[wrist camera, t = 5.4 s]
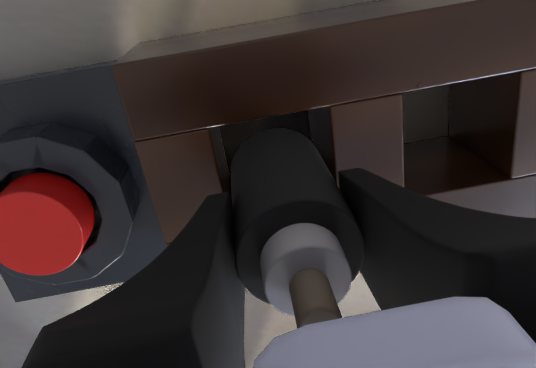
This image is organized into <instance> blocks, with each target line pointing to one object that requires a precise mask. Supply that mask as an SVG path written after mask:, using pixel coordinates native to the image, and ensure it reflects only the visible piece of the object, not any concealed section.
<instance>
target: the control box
mask: <svg viewBox="0 0 536 368" xmlns="http://www.w3.org/2000/svg"><path fill="white" fill-rule="evenodd" d="M116 61H118V60H114V61H109V62H103V63H98V64H92V65H86V66H81V67H75V68H69V69H64V70H58V71H53V72H47V73H41V74H36V75H30V76H25V77H19V78H13V79H8V80H2V81H0V192H1V191H3V190H4V189H5V188H6V187H7V186H8V185H9V184H10V183H11V182H12V181H13V180H15V179H17V178H18V177H20V176H23V175H26V174H30V173H37V172H44V173H52V174H56V175H59V176H62V177H65V178H67V179H69V180H71V181H72V182H74V183H75V184H77V185H78V186H79V187H80V188H81V189H82V190H83V191H84V192H85V193H86V194H87V195H88V197H89V199H90V200H91V202H92V205H93V208H94V211H95V224H94V227H93V230H92V232H91V234H90V236H89V238H88V240H87V242H86V244H85V246H84V248H83V250H82V252H81V254H80V256H79V257H78V259H77V260H76V261H75V262H74V263H73V264H72V265H71V266H69V267H68V268H66V269H64V270H62V271H60V272H57V273H54V274H49V275H29V274H24V273H20V272H17V271H15V270H12V269H10V268H8V267H6V266H4V265H3V264H1V263H0V273H1V275H2V277H3V279H4V281H5V283H6V284H7V286H8V288H9V290H10V292H11V294H12V296H13V298H14V300H15V302H21V301H26V300H31V299H37V298H42V297H47V296H53V295H58V294H63V293H69V292H74V291H79V290H85V289H90V288H95V287H101V286H106V285H111V284H117V283H122V282H126V281H127V280H129V279H130V278H131V277H133V276H134V275H135V274H137V273H138V272H139V271H141V270H142V269H143V268H145V267H146V266H147V265H148V264H149V263H151V262H152V261H153V260H154V259H155V258H156V257H157V256H158V255H160V254H161V253H162V252H163V251H164V250H165V249H166V248H167V247H166V242H165V240H164V237H163V234H162V231H161V228H160V224H159V221H158V218H157V215H156V211H155V208H154V205H153V202H152V199H151V195H150V192H149V189H148V186H147V183H146V179H145V176H144V173H143V170H142V166H141V163H140V160H139V157H138V154H137V150H136V147H135V141H134V139H133V137H132V134H131V131H130V127H129V124H128V121H127V118H126V114H125V111H124V108H123V105H122V102H121V98H120V95H119V92H118V89H117V86H116V82H115V79H114V76H113V73H112V69H111V65H113V64H114V63H115V62H116Z"/></svg>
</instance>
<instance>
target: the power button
mask: <svg viewBox="0 0 536 368" xmlns="http://www.w3.org/2000/svg"><path fill="white" fill-rule="evenodd" d="M94 224H95V211H94V208H93V205H92V202H91V200H90V199H89V197H88V195H87V194H86V193H85V192H84V191H83V190H82V189H81V188H80V187H79V186H78V185H77V184H75V183H74V182H72V181H71V180H69V179H67V178H65V177H62V176H59V175H56V174H52V173H44V172H37V173H30V174H26V175H23V176H20V177H18V178H17V179H15V180H13V181H12V182H11V183H10V184H9V185H8V186H7V187H6V188H5V189H4V190H3V191H1V192H0V263H1V264H3V265H4V266H6V267H8V268H10V269H12V270H15V271H17V272H20V273H24V274H29V275H49V274H54V273H57V272H60V271H62V270H64V269H66V268H68V267H69V266H71V265H72V264H73V263H74V262H75V261H76V260H77V259H78V257H79V256H80V254H81V252H82V250H83V248H84V246H85V244H86V242H87V240H88V238H89V236H90V234H91V232H92V230H93V227H94Z"/></svg>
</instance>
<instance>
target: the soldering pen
mask: <svg viewBox="0 0 536 368" xmlns="http://www.w3.org/2000/svg"><path fill="white" fill-rule="evenodd" d="M231 193H232V210H233V228H234V255H235V266H236V270H237V273H238V276H239V278H240V280H241V282H242V283H243V284H244V286H245V287H246V288H247V289H248V290H249V291H250V292H251V293H252V294H253V295H254V296H255V297H257V298H258V299H260V300H262V301H264V302H266V303H268V304H271V305H272V306H273V307H274V308H276V309H277V310H278V311H280V312H282V313H284V314H286V315H290V316H294V317H295V320H296V324H297V329H298V328H300V327H303V326H305V325H308V324H313V323H319V322H324V321H329V320H334V319H339V318H342V316H341V313H340V310H339V308H338V304H339V303H340V302H341V301H342V300H343V299H344V298H345V296H346V295H347V293H348V291H349V289H350V286H351V282H352V281H353V280H354V279H355V277H356V275H357V274H358V272H359V270H360V268H361V266H362V262H363V259H364V253H365V241H364V236H363V233H362V230H361V228H360V226H359V224H358V222H357V220H356V218H355V216H354V215H353V213H352V211H351V209H350V207H349V206H348V204H347V202H346V200H345V198H344V197H343V195H342V193H341V191H340V190H339V188H338V186H337V184H336V182H335V181H334V179H333V177H332V175H331V173H330V172H329V170H328V168H327V166H326V164H325V163H324V161H323V159H322V157H321V155H320V154H319V152H318V150H317V148H316V147H315V145H314V144H313V143H312V142H311V141H310V140H309V139H308V138H307V137H305V136H304V135H302V134H301V133H298V132H296V131H293V130H290V129H284V128H274V129H268V130H264V131H261V132H258V133H256V134H254V135H253V136H251V137H250V138H248V139H247V140H246V141H245V142H244V143H243V144H242V145H241V146H240V147H239V148H238V150H237V152H236V153H235V155H234V158H233V161H232V164H231Z"/></svg>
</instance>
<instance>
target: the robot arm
mask: <svg viewBox="0 0 536 368" xmlns="http://www.w3.org/2000/svg"><path fill="white" fill-rule="evenodd" d="M338 178H339V189H340V191H341V193H342V195H343V197H344V198H345V200H346V202H347V204H348V206H349V207H350V209H351V211H352V213H353V215H354V216H355V218H356V220H357V222H358V224H359V226H360V228H361V230H362V233H363V236H364V241H365V253H364V259H363V262H362V266H361V268H360V272H361V274H362V276H363V277H364V279H365V281H366V283H367V285H368V287H369V288H370V290H371V292H372V294H373V296H374V298H375V300H376V301H377V303H378V305H379V307H380V309H381V311H376V312H371V313H366V314H360V315H355V316H350V317H345V318H339V319H334V320H329V321H324V322H319V323H313V324H308V325H305V326H303V327H300V328H298V329H295V330H293V331H290V332H288V333H285V334H283V335H281V336H278V337H276V338H274V339H273V340H272V341H271V342H270V343H269V345H268V346H267V347H266V348H265V349H264V350H263V351H262V352H261V353H260V354H259V356H258V357H257V358H256V359H255V360H254V365H253V368H536V218H527V217H517V216H509V215H502V214H496V213H490V212H485V211H479V210H474V209H470V208H465V207H461V206H457V205H454V204H450V203H446V202H443V201H439V200H436V199H433V198H430V197H428V196H425V195H422V194H419V193H417V192H414V191H412V190H409V189H407V188H404V187H402V186H400V185H397V184H395V183H393V182H391V181H388V180H386V179H384V178H382V177H380V176H378V175H376V174H373V173H371V172H369V171H367V170H364V169H362V168H354V169H348V170H343V171H338ZM244 302H245V286H244V284H243V283H242V282H241V280H240V278H239V276H238V273H237V270H236V266H235V255H234V228H233V210H232V205H231V201H230V196H229V192H224V193H218V194H213V195H208V196H207V197H206V198H205V200H204V201H203V202H202V204H201V205H200V207H199V208H198V209H197V211H196V212H195V214H194V215H193V216H192V218H191V219H190V221H189V222H188V223H187V224H186V226H185V227H184V228H183V230H182V231H181V232H180V233H179V234H178V235H177V236H176V238H175V239H174V240H173V241H172V242H171V243H170V244H169V246H168V247H167V248H166V249H165V250H164V251H163V252H162V253H161V254H160V255H158V256H157V257H156V258H155V259H154V260H153V261H152V262H151V263H149V264H148V265H147V266H146V267H145V268H143V269H142V270H141V271H139V272H138V273H137V274H135V275H134V276H133V277H131V278H130V279H129V280H127V281H126V282H125V283H123V284H122V285H120V286H119V287H117V288H116V289H114V290H113V291H111V292H110V293H108V294H106V295H105V296H103V297H101V298H100V299H98V300H96V301H94V302H93V303H91V304H89V305H87V306H85V307H84V308H82V309H80V310H78V311H76V312H74V313H71V314H69V315H67V316H65V317H63V318H61V319H59V320H57V321H55V322H53V323H51V324H48V325H46V326H44V327H43V328H42V330H41V331H40V333H39V335H38V337H37V338H36V340H35V342H34V344H33V346H32V348H31V350H30V352H29V354H28V356H27V358H26V360H25V362H24V364H23V366H22V368H245V360H244Z"/></svg>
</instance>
